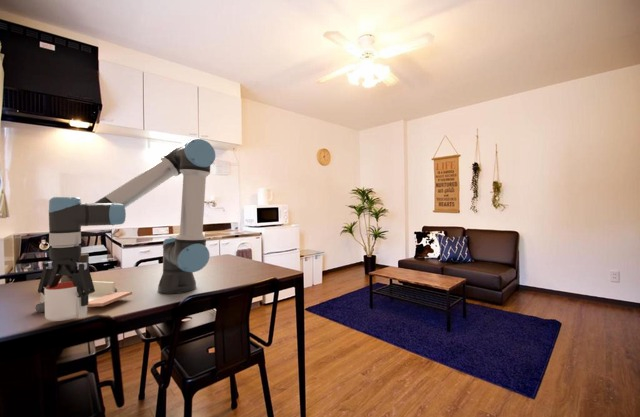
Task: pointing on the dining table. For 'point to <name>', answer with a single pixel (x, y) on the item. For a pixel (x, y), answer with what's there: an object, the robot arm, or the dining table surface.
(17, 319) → the dining table surface
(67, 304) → the cup
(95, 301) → the panel
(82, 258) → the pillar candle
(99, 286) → the truck bed
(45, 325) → the dining table surface
